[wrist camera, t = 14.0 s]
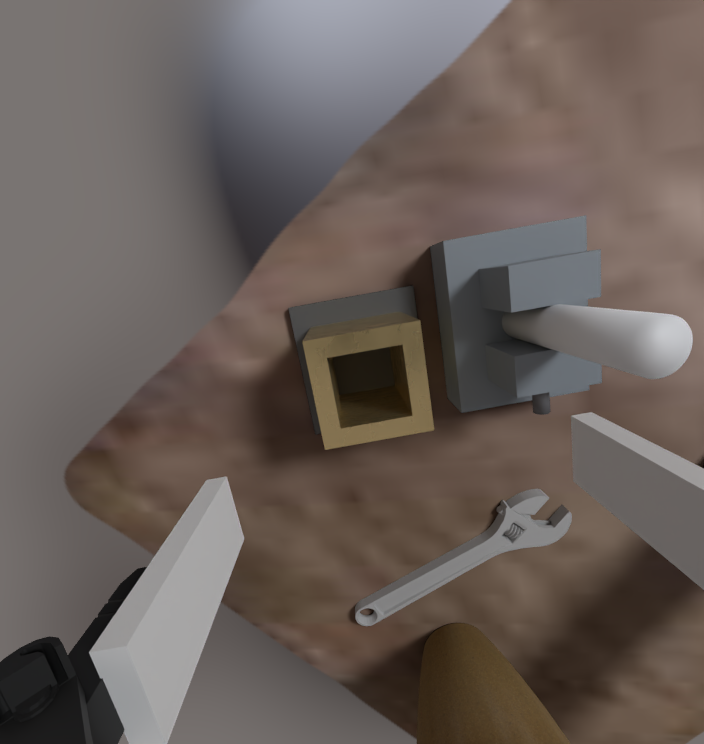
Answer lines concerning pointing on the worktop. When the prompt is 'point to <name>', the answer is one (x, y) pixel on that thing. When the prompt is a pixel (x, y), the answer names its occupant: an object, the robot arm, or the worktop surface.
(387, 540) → the worktop surface
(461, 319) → the vise
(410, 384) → the brass collar
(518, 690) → the plant pot
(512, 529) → the adjustable wrench
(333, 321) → the rubber mat
